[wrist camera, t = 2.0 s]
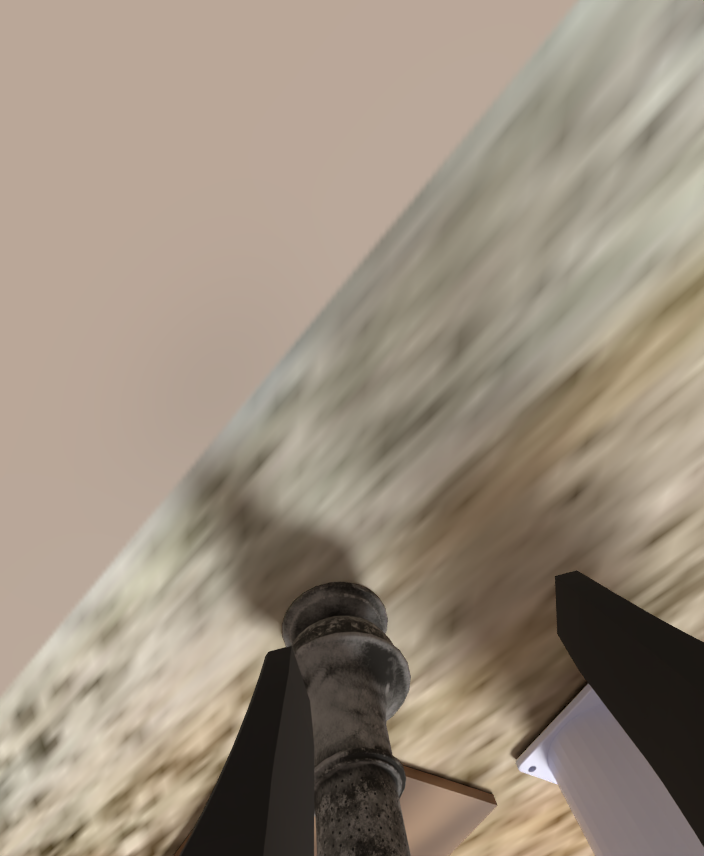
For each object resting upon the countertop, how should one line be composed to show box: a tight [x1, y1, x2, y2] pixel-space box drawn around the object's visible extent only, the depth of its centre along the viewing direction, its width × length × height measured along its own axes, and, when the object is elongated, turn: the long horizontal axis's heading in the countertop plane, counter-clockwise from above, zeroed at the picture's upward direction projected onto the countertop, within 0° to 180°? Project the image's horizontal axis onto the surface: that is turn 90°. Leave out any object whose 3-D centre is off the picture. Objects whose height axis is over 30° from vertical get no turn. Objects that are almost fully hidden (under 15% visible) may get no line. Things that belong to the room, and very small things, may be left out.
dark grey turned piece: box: [282, 582, 411, 856], centre depth 16 cm, size 6×6×12 cm
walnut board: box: [174, 765, 497, 856], centre depth 27 cm, size 16×16×1 cm
